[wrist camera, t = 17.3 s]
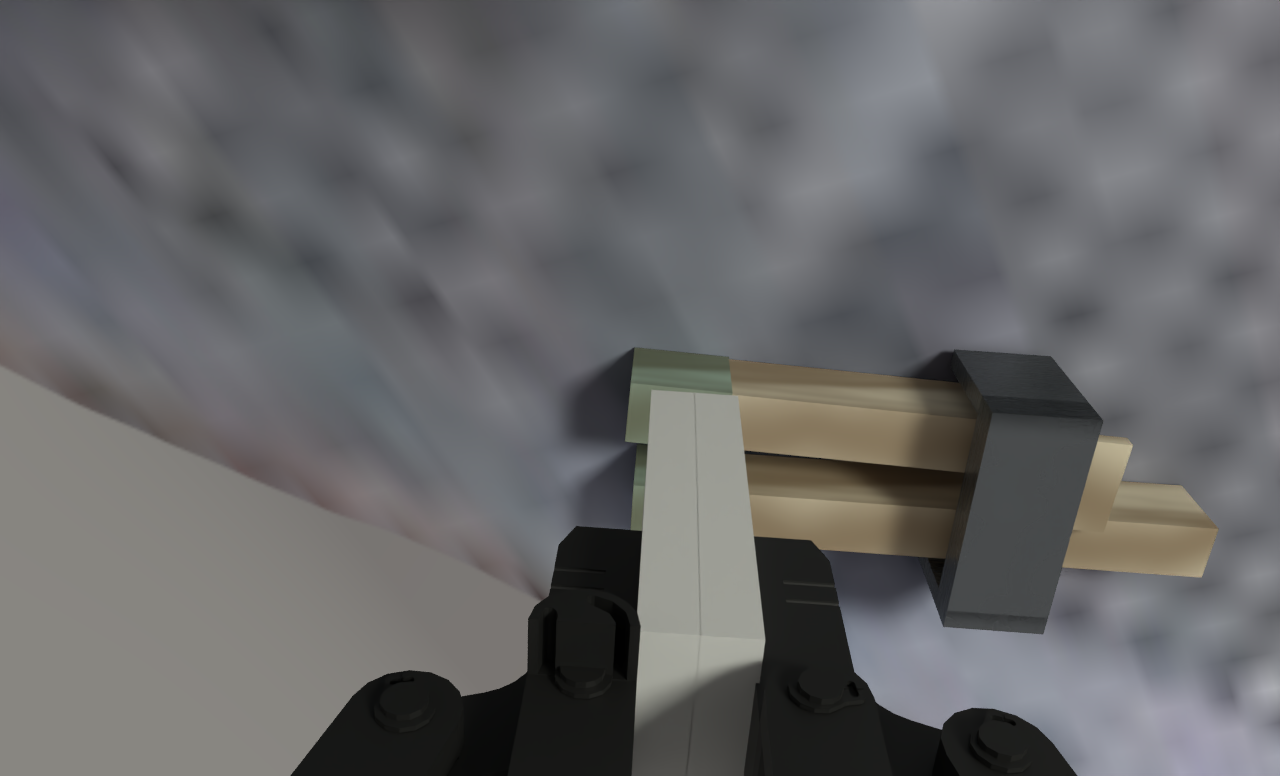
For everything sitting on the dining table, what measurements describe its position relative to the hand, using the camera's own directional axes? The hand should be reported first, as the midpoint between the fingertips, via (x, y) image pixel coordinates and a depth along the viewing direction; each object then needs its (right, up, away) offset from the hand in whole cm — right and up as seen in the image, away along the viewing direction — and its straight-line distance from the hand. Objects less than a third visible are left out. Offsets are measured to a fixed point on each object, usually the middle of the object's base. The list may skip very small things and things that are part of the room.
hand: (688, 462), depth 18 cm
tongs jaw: (+8, 0, +26) cm, 28 cm away
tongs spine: (+11, -2, +27) cm, 30 cm away
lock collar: (+14, -2, +27) cm, 30 cm away
